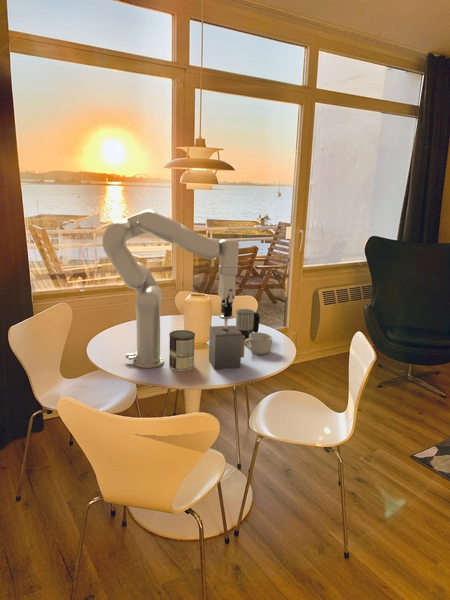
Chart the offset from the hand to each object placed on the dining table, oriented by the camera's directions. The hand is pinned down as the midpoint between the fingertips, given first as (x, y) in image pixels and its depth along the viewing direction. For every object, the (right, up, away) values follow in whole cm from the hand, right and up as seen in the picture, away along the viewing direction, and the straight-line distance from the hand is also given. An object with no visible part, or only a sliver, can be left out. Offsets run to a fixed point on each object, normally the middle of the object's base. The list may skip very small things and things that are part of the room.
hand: (226, 314), depth 177 cm
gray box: (0, -21, +5) cm, 22 cm away
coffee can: (-18, -22, +1) cm, 28 cm away
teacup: (+14, -19, +20) cm, 31 cm away
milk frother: (+7, -13, +41) cm, 43 cm away
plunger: (-1, -13, +3) cm, 14 cm away
